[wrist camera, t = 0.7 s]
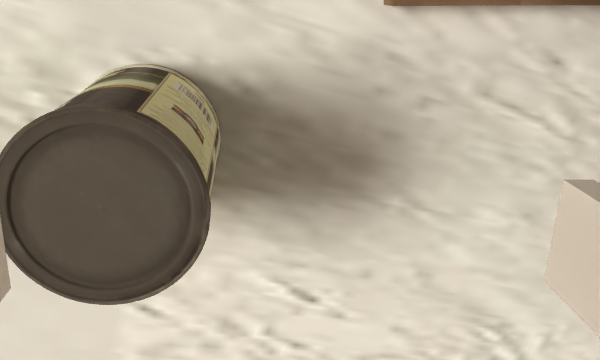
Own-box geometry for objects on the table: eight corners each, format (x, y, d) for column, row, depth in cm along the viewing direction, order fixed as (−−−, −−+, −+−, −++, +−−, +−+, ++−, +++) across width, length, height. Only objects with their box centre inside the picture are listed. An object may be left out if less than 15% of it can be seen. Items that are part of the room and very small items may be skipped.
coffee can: (52, 171, 41) (-41, 261, 28) (104, 37, 38) (28, 66, 25) (187, 226, 43) (161, 334, 30) (245, 103, 40) (245, 162, 27)
